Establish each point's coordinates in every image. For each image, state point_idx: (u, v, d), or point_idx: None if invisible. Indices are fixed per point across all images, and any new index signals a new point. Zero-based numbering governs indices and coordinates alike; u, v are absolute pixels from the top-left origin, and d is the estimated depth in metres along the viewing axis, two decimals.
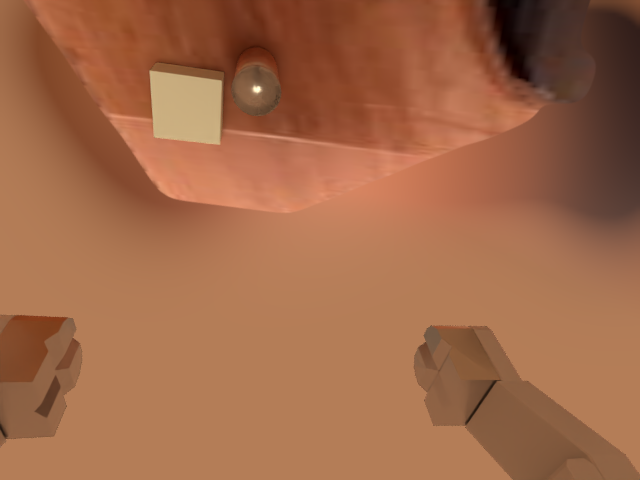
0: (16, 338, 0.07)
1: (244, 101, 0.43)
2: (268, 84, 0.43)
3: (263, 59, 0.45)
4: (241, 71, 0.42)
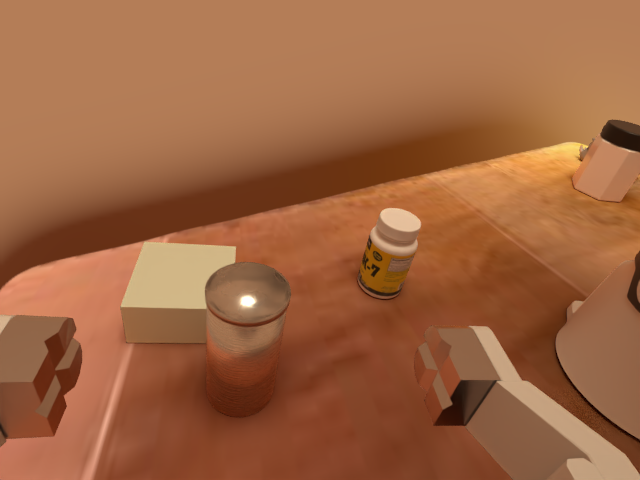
0: (16, 338, 0.07)
1: (229, 275, 0.26)
2: (264, 303, 0.24)
3: (281, 340, 0.27)
4: (277, 272, 0.27)
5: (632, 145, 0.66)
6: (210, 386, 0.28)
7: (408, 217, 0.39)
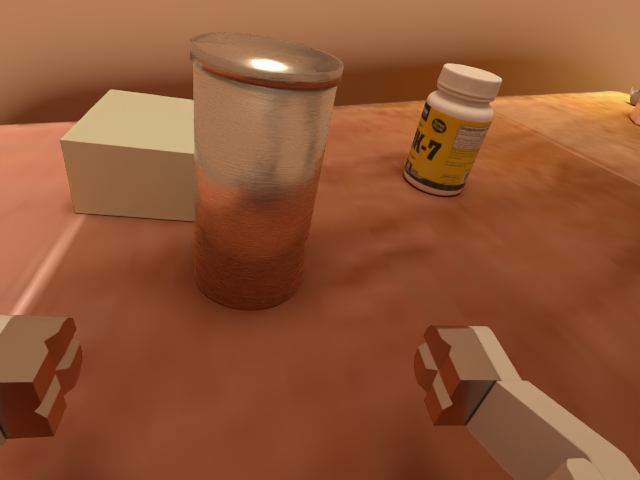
0: (16, 338, 0.07)
1: (235, 38, 0.15)
2: (298, 63, 0.13)
3: (320, 171, 0.16)
4: (316, 49, 0.16)
5: None
6: (200, 254, 0.17)
7: (482, 72, 0.28)
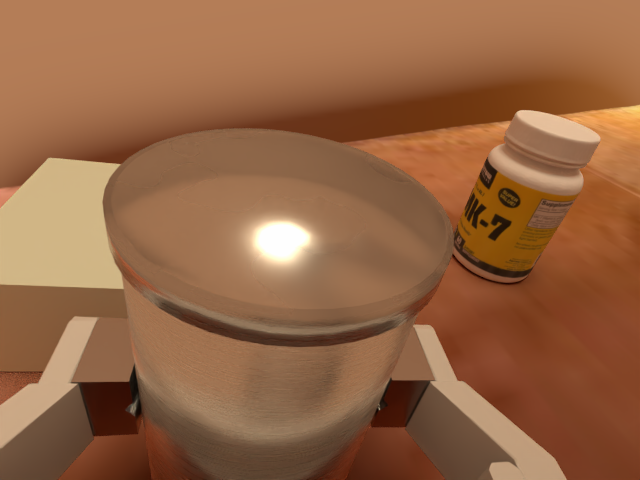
0: (105, 339, 0.08)
1: (216, 153, 0.07)
2: (361, 241, 0.06)
3: None
4: (375, 159, 0.08)
5: None
6: None
7: (568, 124, 0.20)
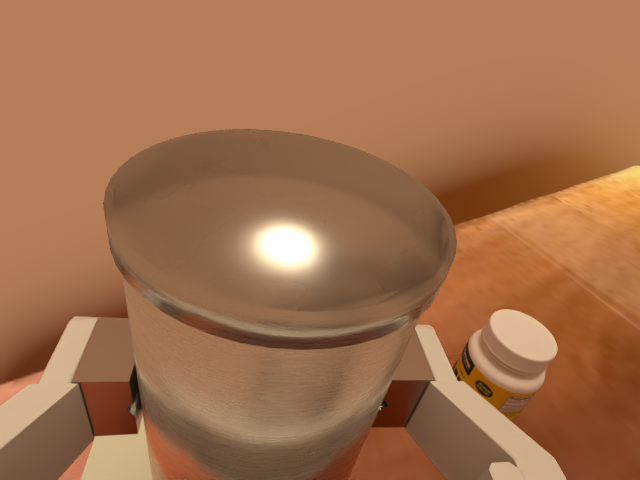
0: (105, 339, 0.08)
1: (217, 154, 0.07)
2: (363, 242, 0.06)
3: None
4: (377, 160, 0.08)
5: None
6: None
7: (533, 328, 0.25)
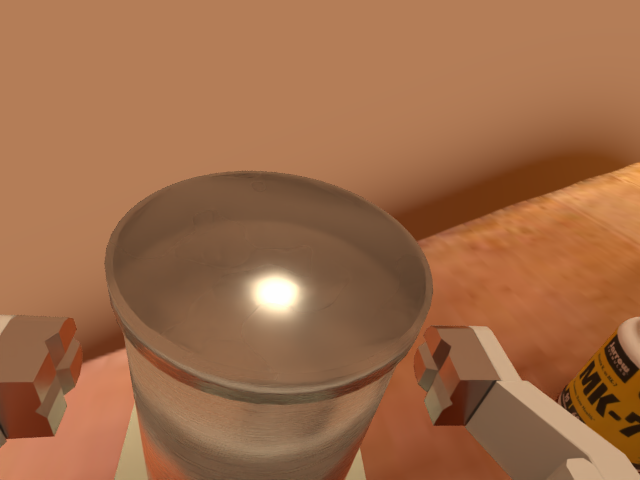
0: (16, 338, 0.07)
1: (211, 202, 0.07)
2: (345, 296, 0.06)
3: None
4: (363, 201, 0.08)
5: None
6: None
7: None
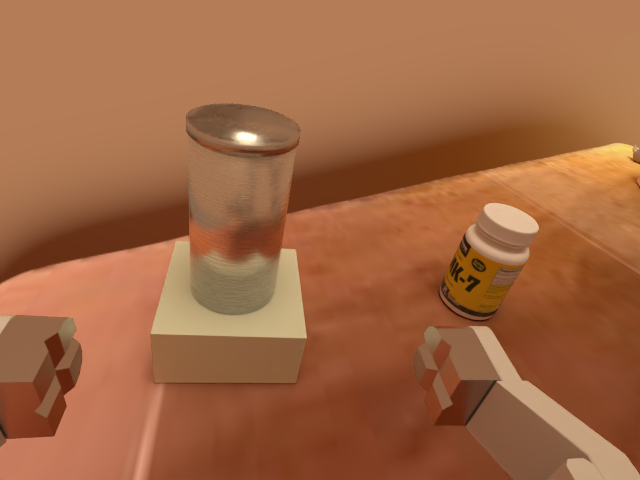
0: (16, 338, 0.07)
1: (220, 110, 0.19)
2: (265, 134, 0.18)
3: None
4: (282, 115, 0.20)
5: None
6: (194, 271, 0.22)
7: (519, 215, 0.30)
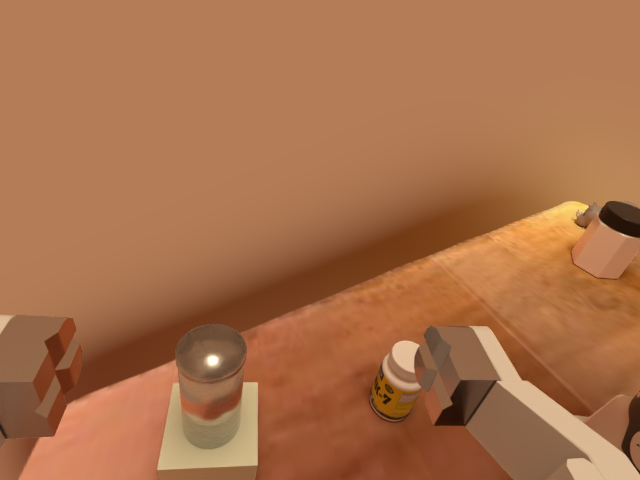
0: (16, 338, 0.07)
1: (197, 337, 0.31)
2: (222, 363, 0.30)
3: (241, 387, 0.33)
4: (237, 333, 0.32)
5: (629, 231, 0.69)
6: (184, 424, 0.34)
7: None
